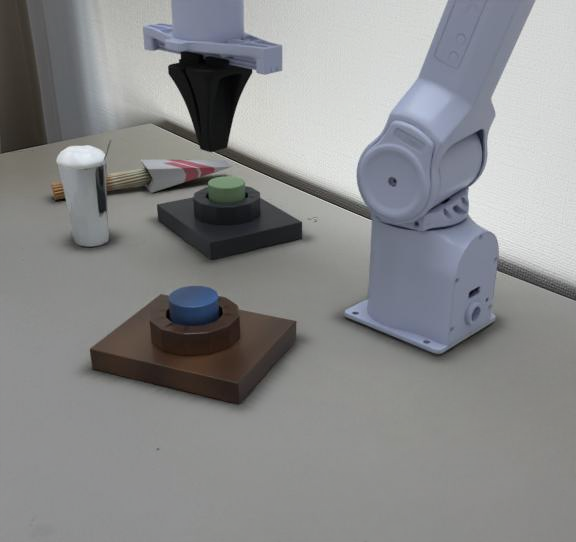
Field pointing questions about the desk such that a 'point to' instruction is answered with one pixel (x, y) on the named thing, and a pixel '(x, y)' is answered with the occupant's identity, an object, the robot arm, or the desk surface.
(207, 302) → the blue button
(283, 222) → the black square button base
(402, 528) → the desk surface
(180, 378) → the wooden base push button
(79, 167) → the milkshake
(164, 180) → the paintbrush
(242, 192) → the green button
